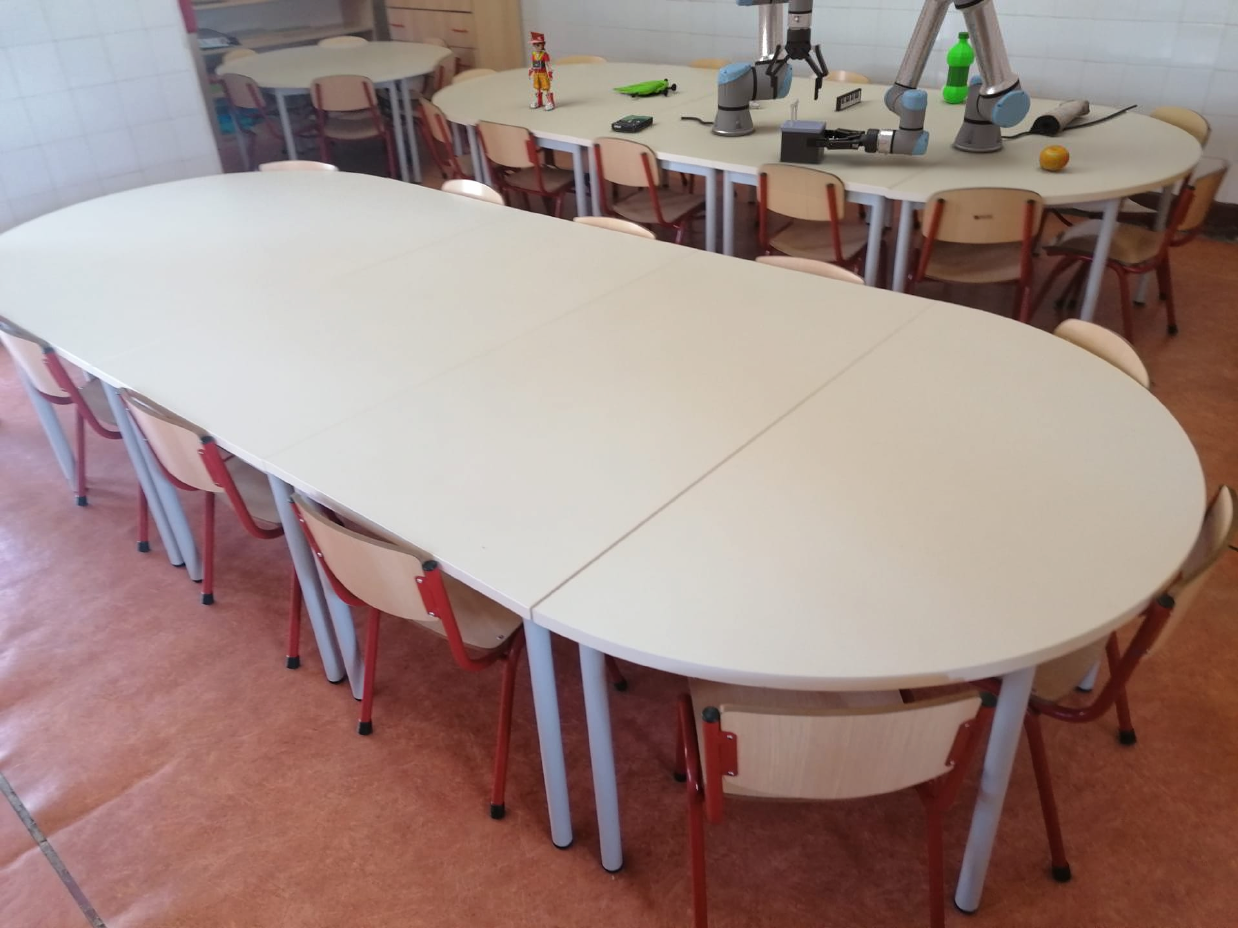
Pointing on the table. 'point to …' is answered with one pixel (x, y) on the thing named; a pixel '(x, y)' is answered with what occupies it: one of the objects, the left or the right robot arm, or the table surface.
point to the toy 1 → (541, 71)
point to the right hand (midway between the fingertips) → (810, 137)
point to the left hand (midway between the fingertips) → (795, 99)
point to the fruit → (1054, 157)
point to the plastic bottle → (958, 70)
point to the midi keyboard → (848, 99)
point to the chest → (800, 147)
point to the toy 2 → (648, 88)
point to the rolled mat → (1060, 117)
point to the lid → (801, 123)
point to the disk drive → (632, 123)
